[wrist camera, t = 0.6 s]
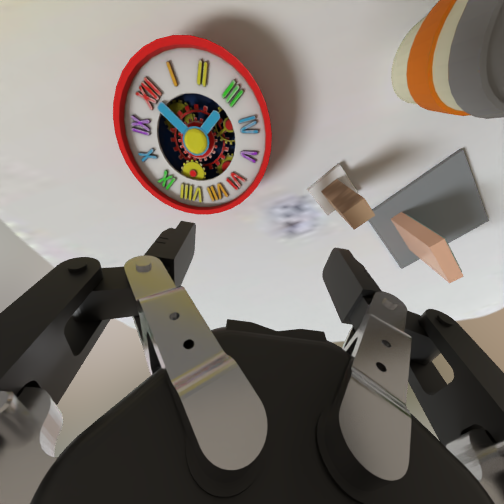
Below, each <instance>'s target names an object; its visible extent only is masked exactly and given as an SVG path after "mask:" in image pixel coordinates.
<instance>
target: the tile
mask: <svg viewBox="0 0 504 504" xmlns="http://www.w3.org/2000/svg"><path fill="white" fill-rule="evenodd" d="M391 221H392V222H393V224H394V225H395V227H396V229H397V230H398V232H399V233H400V235H401V237H402V238H403V240H404V242H405V243H406V245H407V246H408V248H409V250H410V251H412V252H413V253H414V254H415V255H416V256H418V257H419V258H420V259H421V260H422V261H424V262H425V263H426V264H427V265H428V266H430V267H431V268H432V269H433V270H434V271H436V272H437V273H438V274H439V275H440V276H442V277H443V278H444V279H445V280H446V281H448V282H449V283H451V282H453V281H455V280H457V279H459V278H461V277H463V274H462V271H461V269H460V267H459V265H458V263H457V261H456V259H455V257H454V255H453V253H452V251H451V249H450V247H449V245H448V243H447V241H446V239H445V238H444V237H443V236H441V235H439V234H438V233H436V232H435V231H433V230H431V229H430V228H428V227H426V226H425V225H423V224H422V223H420V222H418V221H417V220H415V219H413V218H412V217H410V216H409V215H407V214H404V213H402V212H400V213H399V214H397V215H396V216H394V217H393V218H391Z"/></svg>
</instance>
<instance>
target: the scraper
mask: <svg viewBox="0 0 504 504" xmlns="http://www.w3.org/2000/svg"><path fill="white" fill-rule="evenodd" d="M307 190H308V191H309V192H310V194H311V195H312V196H313V197H314V199H315V200H316V201H317V203H318V204H319V205H320V206H321V208H322V209H323V210H324V212H325V213H326V214H327V215H329V214H330V213H332V212H333V211H334V210H336V211H337V212H338V213H339V214H340V215H341V216H342V217H343V218H344V219H345V220H346V221H347V222H348V224H349V225H350V226H351V227H352V228H353V229H356V228H357V227H359V226H360V225H362V224H363V223H365V222H366V221H368V220H369V219H371V218H372V217H374V216H375V214H374V212H373V211H372V209H371V208H370V206H369V205H368V203H367V202H366V200H365V199H364V198H363V197H362V196H360V195H359V194H358V191H357V190H356V188H355V187H354V185H353V184H352V182H351V181H350V179H349V178H348V176H347V175H346V173H345V172H344V170H343V169H342V167H341V166H340V165H339V164H337V165H336V166H334V167H333V168H332V169H331V170H330V171H328V172H327V173H326V174H325V175H323V176H322V177H321V178H320V179H319V180H317V181H316V182H315V183H314V184H313V185H311V186H310V187H309V188H308V189H307Z"/></svg>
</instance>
